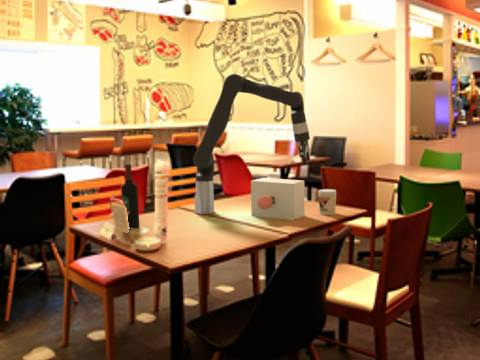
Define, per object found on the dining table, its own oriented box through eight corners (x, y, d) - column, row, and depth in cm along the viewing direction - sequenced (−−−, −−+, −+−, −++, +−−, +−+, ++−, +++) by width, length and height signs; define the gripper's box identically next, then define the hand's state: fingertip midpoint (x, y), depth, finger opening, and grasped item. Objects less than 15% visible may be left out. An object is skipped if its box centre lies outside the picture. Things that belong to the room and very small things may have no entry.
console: (293, 220, 270) (292, 183, 267) (251, 215, 283) (250, 180, 280) (304, 215, 280) (304, 180, 277) (263, 211, 293) (263, 177, 290)
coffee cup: (314, 213, 285) (314, 190, 283) (327, 211, 290) (327, 188, 288) (327, 216, 277) (327, 192, 276) (340, 213, 283) (340, 190, 281)
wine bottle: (138, 229, 260) (135, 165, 255) (122, 229, 259) (118, 165, 255) (140, 225, 267) (137, 163, 263) (124, 226, 266) (120, 164, 262)
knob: (268, 210, 267) (268, 197, 266) (257, 209, 270) (257, 196, 269) (278, 206, 275) (278, 193, 274) (267, 205, 278) (267, 193, 278)
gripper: (296, 130, 286) (302, 160, 289) (290, 135, 273) (296, 167, 276) (310, 128, 283) (316, 158, 287) (305, 132, 270) (311, 164, 274)
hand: (306, 162), depth 281 cm, fingers open, 8 cm apart
